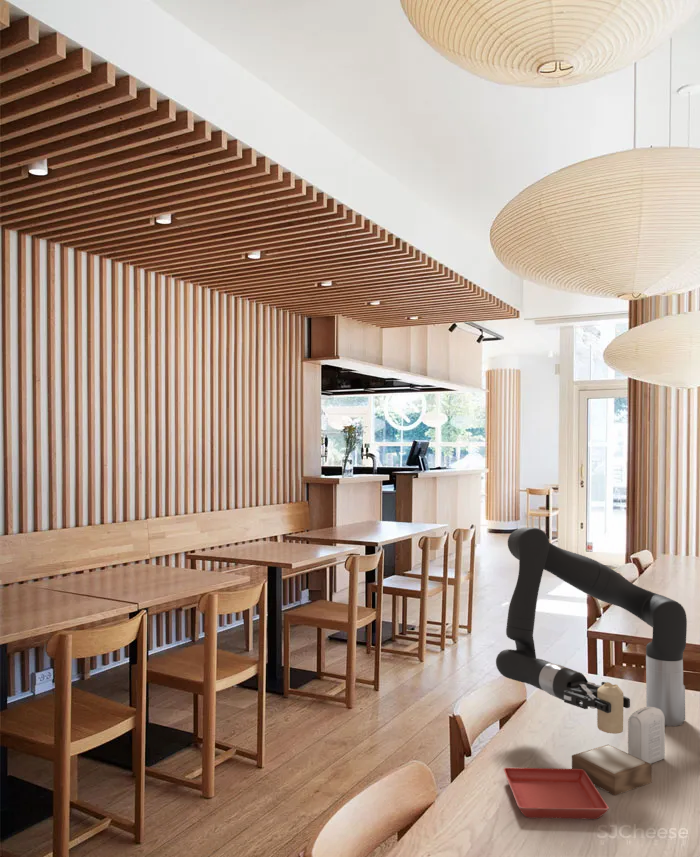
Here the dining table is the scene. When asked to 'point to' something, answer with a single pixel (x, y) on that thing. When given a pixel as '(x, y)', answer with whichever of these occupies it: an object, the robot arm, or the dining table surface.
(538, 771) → the plant saucer
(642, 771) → the stand
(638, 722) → the photo printer
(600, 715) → the candle
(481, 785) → the dining table surface
